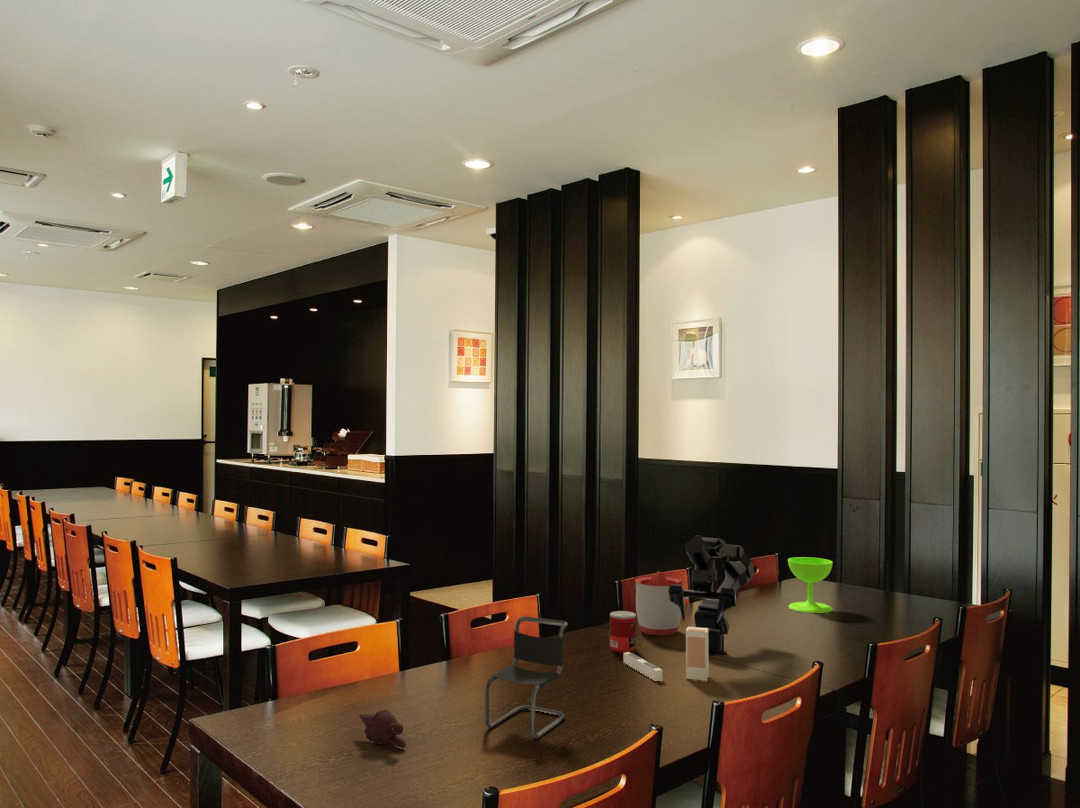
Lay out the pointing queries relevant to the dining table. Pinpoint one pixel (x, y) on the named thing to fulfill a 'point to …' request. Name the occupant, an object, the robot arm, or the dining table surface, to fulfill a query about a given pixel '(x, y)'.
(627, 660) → the rail
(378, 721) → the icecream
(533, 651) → the chair
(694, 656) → the carton
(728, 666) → the dining table surface
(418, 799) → the dining table surface
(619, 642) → the canned food
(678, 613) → the citrus juicer
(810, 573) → the wineglass
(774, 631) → the dining table surface
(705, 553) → the robot arm
